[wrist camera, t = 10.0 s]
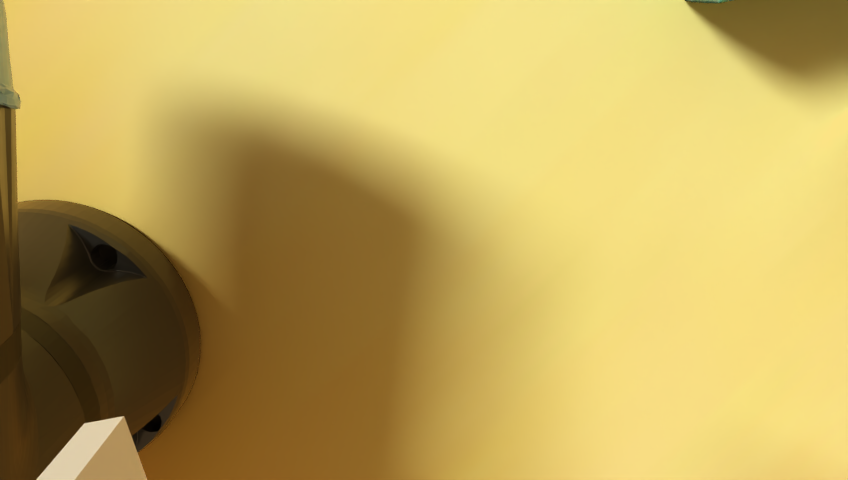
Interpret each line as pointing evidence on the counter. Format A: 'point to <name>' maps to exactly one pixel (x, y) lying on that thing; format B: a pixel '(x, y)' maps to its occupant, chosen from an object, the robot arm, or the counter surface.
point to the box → (708, 1)
